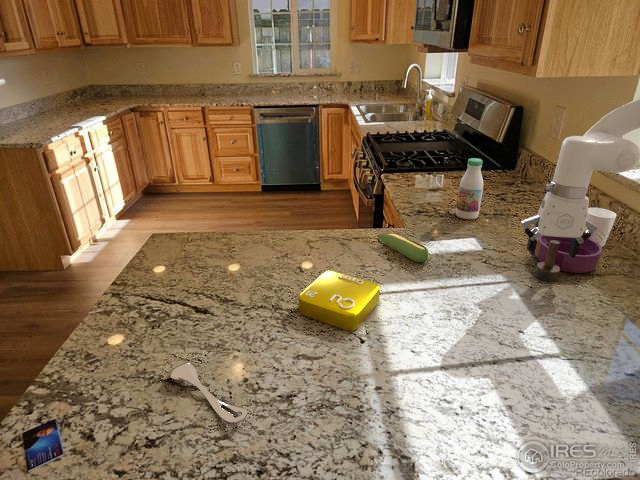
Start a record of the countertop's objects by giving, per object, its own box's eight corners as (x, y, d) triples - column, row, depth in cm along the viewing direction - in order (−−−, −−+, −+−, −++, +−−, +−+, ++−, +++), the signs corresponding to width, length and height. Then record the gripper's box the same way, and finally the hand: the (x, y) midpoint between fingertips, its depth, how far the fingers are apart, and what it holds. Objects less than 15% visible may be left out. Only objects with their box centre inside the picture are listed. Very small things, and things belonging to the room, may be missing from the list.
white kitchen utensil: (253, 400, 69) (231, 418, 66) (256, 416, 71) (234, 435, 67) (183, 353, 81) (161, 366, 78) (187, 368, 83) (165, 381, 79)
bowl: (583, 249, 125) (588, 233, 122) (606, 276, 111) (612, 258, 109) (527, 246, 127) (531, 229, 124) (544, 272, 113) (549, 254, 111)
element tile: (381, 299, 102) (383, 282, 100) (354, 333, 90) (354, 315, 88) (327, 283, 109) (327, 266, 107) (295, 313, 97) (294, 295, 95)
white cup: (580, 247, 126) (590, 216, 122) (573, 236, 133) (581, 206, 129) (610, 250, 125) (620, 218, 120) (601, 238, 131) (610, 208, 127)
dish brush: (553, 272, 113) (562, 237, 109) (560, 282, 108) (570, 247, 104) (531, 270, 114) (540, 236, 109) (538, 281, 109) (547, 245, 105)
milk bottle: (458, 209, 153) (466, 155, 145) (480, 214, 150) (490, 158, 141) (452, 217, 147) (460, 160, 139) (475, 221, 144) (485, 164, 135)
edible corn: (421, 268, 116) (422, 253, 114) (372, 241, 130) (373, 228, 128) (434, 262, 118) (435, 248, 116) (384, 237, 133) (385, 224, 131)
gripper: (534, 193, 99) (519, 258, 106) (615, 197, 96) (593, 263, 104) (525, 183, 105) (511, 244, 113) (600, 187, 103) (581, 249, 110)
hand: (550, 253), depth 108 cm, fingers open, 9 cm apart
